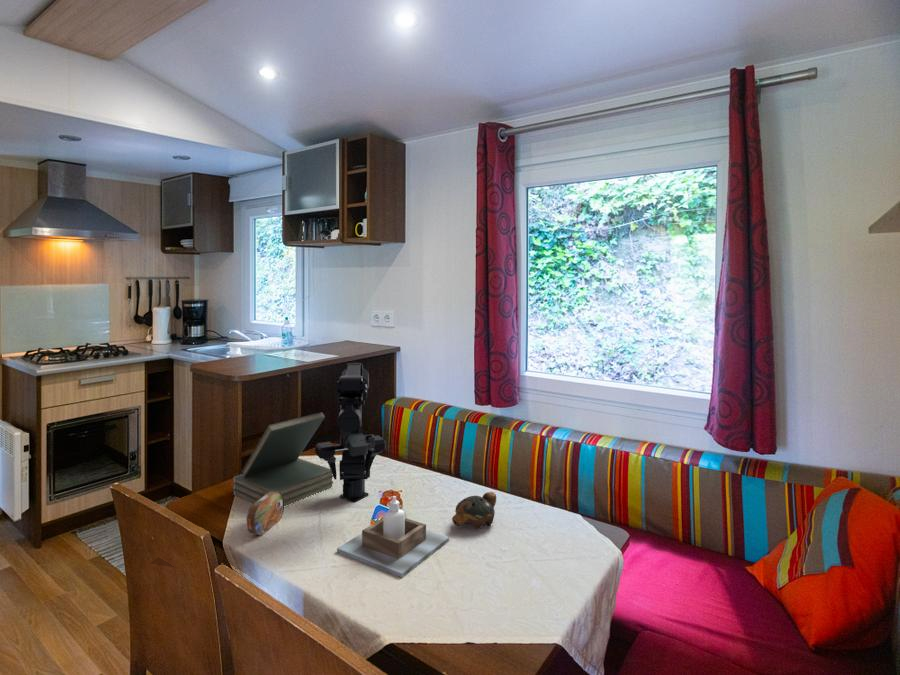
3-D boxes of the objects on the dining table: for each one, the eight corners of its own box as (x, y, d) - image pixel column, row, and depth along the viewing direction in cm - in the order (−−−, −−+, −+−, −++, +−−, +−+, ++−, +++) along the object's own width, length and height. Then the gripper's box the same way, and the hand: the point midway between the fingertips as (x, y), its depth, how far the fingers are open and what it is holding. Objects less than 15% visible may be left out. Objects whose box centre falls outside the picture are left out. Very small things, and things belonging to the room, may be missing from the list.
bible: (295, 474, 178) (294, 403, 176) (333, 488, 167) (332, 412, 164) (233, 496, 160) (231, 416, 157) (271, 513, 148) (269, 428, 146)
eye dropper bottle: (381, 539, 132) (381, 494, 131) (403, 536, 133) (403, 492, 132) (384, 548, 128) (384, 501, 126) (406, 545, 129) (407, 499, 128)
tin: (255, 541, 132) (255, 509, 131) (244, 540, 133) (243, 508, 132) (285, 515, 147) (285, 486, 146) (275, 514, 147) (275, 485, 146)
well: (388, 520, 144) (388, 503, 144) (449, 540, 134) (449, 522, 133) (337, 552, 127) (336, 532, 127) (402, 577, 117) (402, 556, 116)
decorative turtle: (506, 521, 146) (507, 494, 144) (469, 542, 135) (469, 514, 134) (480, 508, 152) (481, 482, 151) (443, 527, 142) (443, 501, 140)
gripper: (325, 433, 132) (325, 492, 133) (393, 425, 140) (393, 480, 142) (314, 422, 141) (315, 478, 143) (379, 415, 150) (379, 467, 152)
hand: (351, 476), depth 145 cm, fingers open, 9 cm apart
